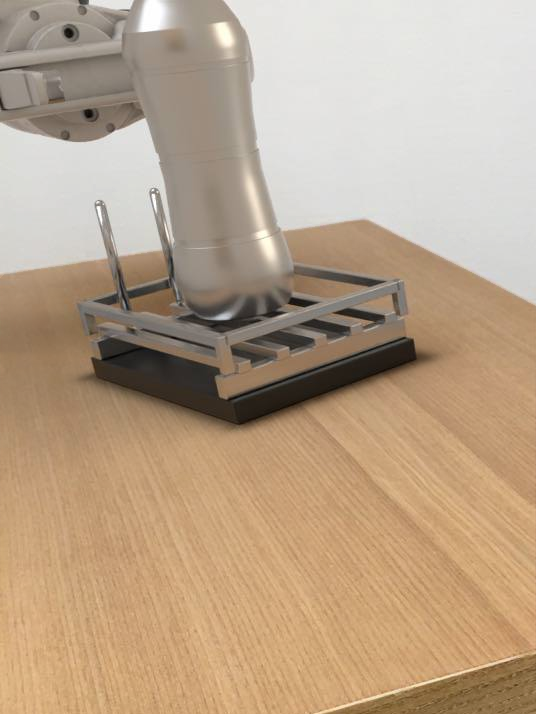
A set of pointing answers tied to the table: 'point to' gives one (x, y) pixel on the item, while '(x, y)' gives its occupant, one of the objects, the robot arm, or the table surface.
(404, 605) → the table surface
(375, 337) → the dish rack
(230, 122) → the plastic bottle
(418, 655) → the table surface
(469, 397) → the table surface
